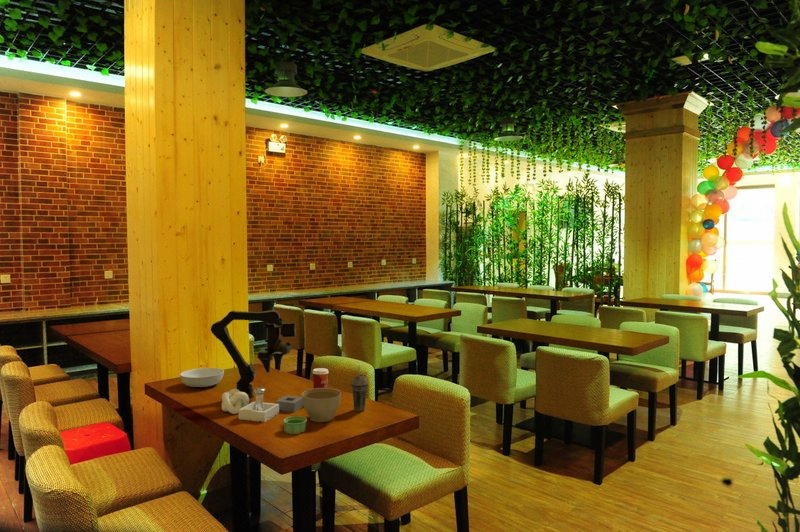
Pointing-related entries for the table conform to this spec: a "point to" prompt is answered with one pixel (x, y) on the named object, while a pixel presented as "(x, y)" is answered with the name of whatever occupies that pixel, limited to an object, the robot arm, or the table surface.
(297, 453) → the table surface
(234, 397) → the white knot sculpture
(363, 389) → the beverage cup
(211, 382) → the serving bowl
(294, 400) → the block
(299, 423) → the ramekin
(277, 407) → the tray
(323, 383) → the paper cup
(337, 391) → the planter bowl
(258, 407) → the pin
